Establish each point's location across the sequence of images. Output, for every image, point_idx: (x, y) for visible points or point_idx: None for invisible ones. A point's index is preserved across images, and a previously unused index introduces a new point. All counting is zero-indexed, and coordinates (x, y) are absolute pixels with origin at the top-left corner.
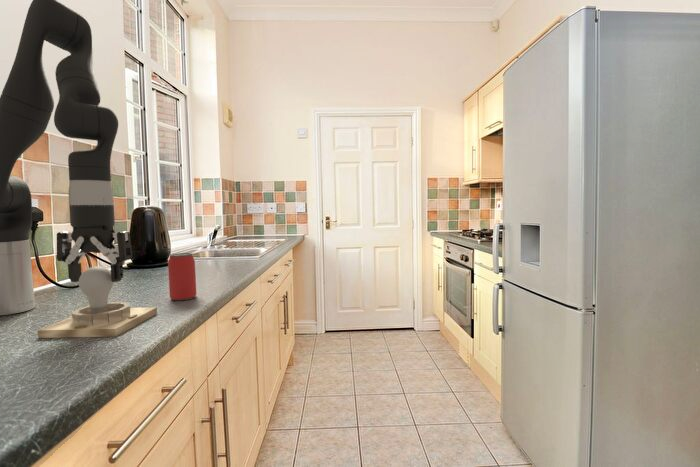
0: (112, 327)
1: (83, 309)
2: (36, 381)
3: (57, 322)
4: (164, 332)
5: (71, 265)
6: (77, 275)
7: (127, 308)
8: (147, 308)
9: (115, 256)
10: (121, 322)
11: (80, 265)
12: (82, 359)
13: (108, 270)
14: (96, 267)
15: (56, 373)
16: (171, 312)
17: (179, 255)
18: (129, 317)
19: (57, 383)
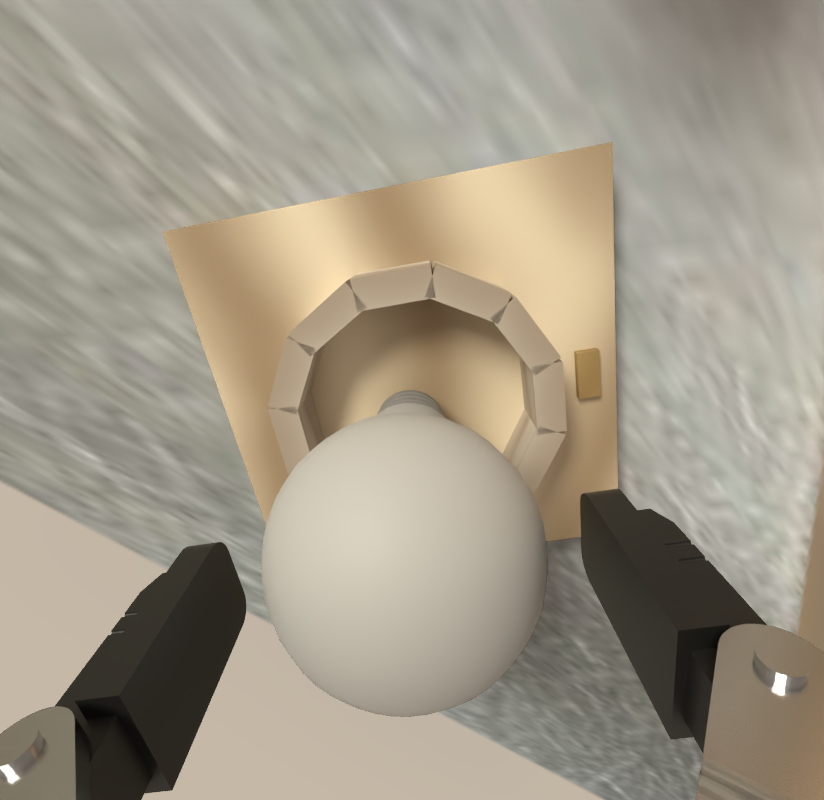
0: None
1: (306, 435)
2: (614, 758)
3: (254, 488)
4: (798, 446)
5: (158, 781)
6: (213, 618)
7: (561, 377)
8: (560, 183)
9: (739, 768)
10: (583, 455)
11: (144, 674)
12: (632, 668)
13: (514, 576)
14: (434, 688)
15: (629, 730)
16: (680, 101)
17: None
18: (584, 397)
19: (675, 760)
